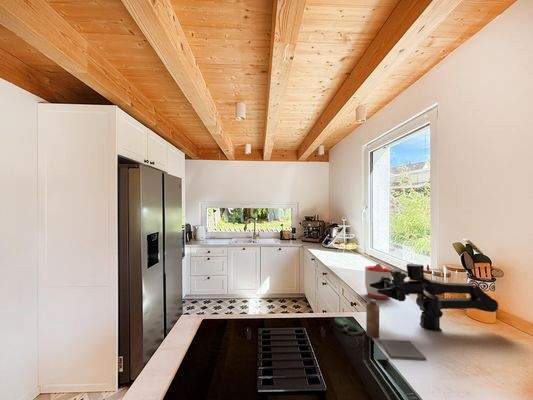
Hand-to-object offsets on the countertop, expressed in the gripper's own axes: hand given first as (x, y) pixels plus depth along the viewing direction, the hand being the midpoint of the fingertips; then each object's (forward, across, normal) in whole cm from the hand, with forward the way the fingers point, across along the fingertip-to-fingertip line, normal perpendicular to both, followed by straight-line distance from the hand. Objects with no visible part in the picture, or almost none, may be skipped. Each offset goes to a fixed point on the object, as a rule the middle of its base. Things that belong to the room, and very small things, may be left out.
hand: (373, 288), depth 119 cm
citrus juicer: (-18, -42, +18) cm, 49 cm away
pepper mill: (+5, +10, +16) cm, 20 cm away
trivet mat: (-2, +21, +17) cm, 27 cm away
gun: (+14, +3, +17) cm, 22 cm away
